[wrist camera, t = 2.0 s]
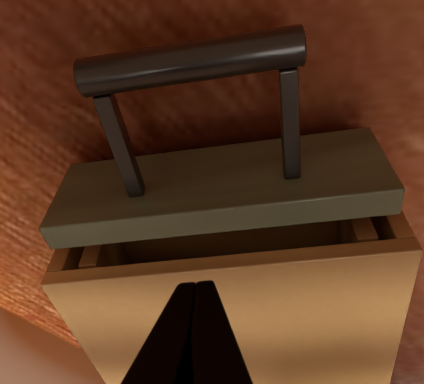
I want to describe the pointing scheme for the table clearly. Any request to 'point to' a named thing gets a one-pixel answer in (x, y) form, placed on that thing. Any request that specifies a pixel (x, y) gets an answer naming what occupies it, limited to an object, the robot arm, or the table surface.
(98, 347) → the drawer unit
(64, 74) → the table surface
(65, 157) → the table surface
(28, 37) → the table surface
